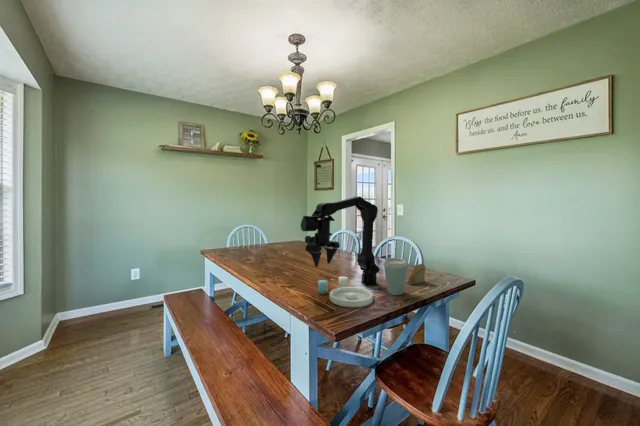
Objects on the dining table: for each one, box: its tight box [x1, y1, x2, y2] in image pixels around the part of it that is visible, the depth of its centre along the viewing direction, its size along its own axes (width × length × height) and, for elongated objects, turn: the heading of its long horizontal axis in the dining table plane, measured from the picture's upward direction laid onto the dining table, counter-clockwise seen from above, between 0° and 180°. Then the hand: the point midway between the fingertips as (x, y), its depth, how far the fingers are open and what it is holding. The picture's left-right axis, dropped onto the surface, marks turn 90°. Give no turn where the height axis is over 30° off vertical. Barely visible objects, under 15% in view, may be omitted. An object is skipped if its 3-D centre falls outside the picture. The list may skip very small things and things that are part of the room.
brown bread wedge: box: [407, 263, 426, 286], centre depth 144 cm, size 11×9×10 cm
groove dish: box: [329, 286, 374, 308], centre depth 121 cm, size 18×18×2 cm
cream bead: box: [338, 276, 349, 288], centre depth 136 cm, size 4×4×5 cm
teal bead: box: [317, 279, 329, 295], centre depth 130 cm, size 4×4×5 cm
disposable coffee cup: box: [382, 257, 408, 296], centre depth 129 cm, size 11×11×15 cm
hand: (322, 265), depth 130 cm, fingers open, 9 cm apart
